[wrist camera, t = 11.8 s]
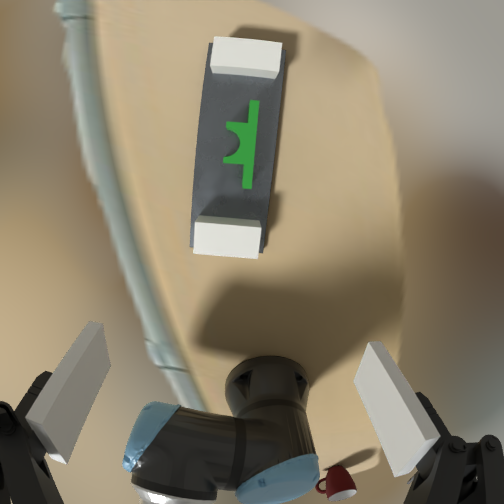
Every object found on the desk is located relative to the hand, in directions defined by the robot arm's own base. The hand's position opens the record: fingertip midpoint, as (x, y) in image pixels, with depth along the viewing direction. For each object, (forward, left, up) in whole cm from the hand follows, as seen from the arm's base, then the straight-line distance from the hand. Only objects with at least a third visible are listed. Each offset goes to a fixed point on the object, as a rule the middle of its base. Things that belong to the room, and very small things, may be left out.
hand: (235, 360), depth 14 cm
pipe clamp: (+10, 0, -28) cm, 30 cm away
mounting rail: (+10, +1, -29) cm, 30 cm away
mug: (-67, -32, -29) cm, 80 cm away
